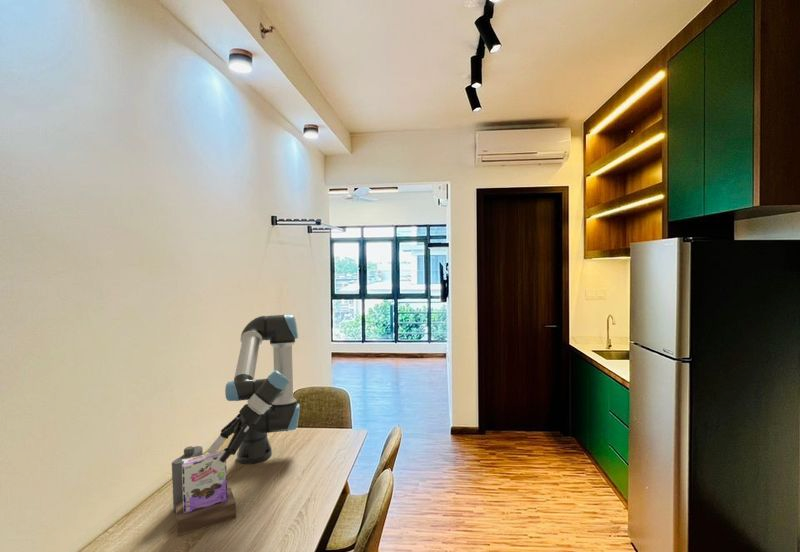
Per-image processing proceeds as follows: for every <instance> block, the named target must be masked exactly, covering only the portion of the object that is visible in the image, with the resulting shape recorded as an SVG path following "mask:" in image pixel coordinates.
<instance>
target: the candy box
mask: <svg viewBox="0 0 800 552" xmlns="http://www.w3.org/2000/svg"><path fill="white" fill-rule="evenodd" d="M223 451H224V449H222V450H220V451H218V450H217V451H216V452H214V453H206V454H203V455H201V456H197V457H192V458H188V459H182V489H183V510H184V513H188V512H192V511H195V510H198V509H202V508H205V507H209V506H212V505H215V504H219V503H222V502H226V501H227V488H228V479H227V475H228V474H227V460H226V461H225V462H224V464H223V465H222V466H221V467H220V469H219V470H218V471H216V470H214V469H212V468H211V467H210V466H211V465H212V464H213V463H214V462H215V460H216V459H217V458H218V457H219V456H220V454H221V453H222V452H223Z"/></svg>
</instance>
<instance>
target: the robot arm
mask: <svg viewBox="0 0 800 552" xmlns="http://www.w3.org/2000/svg"><path fill="white" fill-rule="evenodd" d="M298 332H299V331H298V326H297V321H296V317H295V316H294V315H292V314H278V315H277V314H276V315H275V314H274V315H261V316H258V317H255V318H254V319H252V320H250V321H249V322H248V323H247V325H245V327H244V328H243V330H242V331H241V335H240V344H241V345H240V351H239V354H238V359H237V364H236V367H235V368H236V369H235V373H234V377H233V380H231V381H227V383H226V384H225V388H224V389H225V390H224V393H225V399H226V401H228V402H242V401H247V402H246V404H244V405H243V406H242V408H241V409H240V410H239V412H238V414H237V415H236V416H235V417H234V418H233V419H232V420H231V421H229V422H228V424H226V425H225V426H224V427H223V428H222V429H221V430H220V434H219V435H218V437H217V438H216V439H215V440H214V442H213V443H212V444H211V445H210V446H209V448H207V449H206V452H207V454H210V453H214V452H218V450H219V449H220V447H221V446H222V445H223V444H224V443H225V442H226V440H228V439H229V437H230V436H232V437H231V439H230V441H229V443H228V444H227V447H224V449H223V450H224V451H223V452H222V453H221V454H220V456H219V457H218V458H217V459H216V460H215V462H214V463H213V464H212V465H211V466H210V467H211V468H212V469H214V470H216V471H218V470H219V469H220V467H221V466H222V465H223V464H224V462H225V461H226V462H227V460H228V459H229V457H230V456H231V455H232V456H235V455H236V457H237V462H238V463H240V464H256V463H261V462H263V461H265V460H267V459H268V458H270V457H271V456H272V453H273V449H272V445H271V443H270V440H269V438H268V434H269V433H270V434H271V433H277V432H278V433H279V432H281V433H282V432H288V431H295V430H296V429H297V428H298V425H299V418H300V406H301V404H300V403H297V399H296V398H295V397H294V374H293V346H294V345H295V343H296V340H297V339H298V338H299V334H298ZM264 341H269V345H270V346H271V347H272V349H273V371H272V372H271V373H270V374H269V375H268V376H267V378H259V379H255V375H256V374H255V373H256V368H257V362H258V356H259V350H260V345H261V344H262V343H263V342H264ZM236 453H237V454H236Z"/></svg>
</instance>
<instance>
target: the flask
mask: <svg viewBox="0 0 800 552" xmlns="http://www.w3.org/2000/svg"><path fill="white" fill-rule="evenodd" d="M203 449H204V448H203V447H202V446H200V445H196V446H195V445H194V446H186V447H185V448H184V449H183V454H182V455H181V456H180V457H178V458H176V459H174V460H173V461H172V462H171V479H172V480H171V481H172V501H173V502H172V505H173V506H172V507H173V511H174V512H175V513H176V503H178V502H182V501H183V489H182V459H188V458H192V457H197V456H201V455H204V453H203Z"/></svg>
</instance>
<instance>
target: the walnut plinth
mask: <svg viewBox="0 0 800 552" xmlns="http://www.w3.org/2000/svg"><path fill="white" fill-rule="evenodd" d="M175 513H176V514H175V515H176V517H175V519H176V528H177V529H176V531H177V532H176V533H177V537H180V536H183V535H186V534H188V533H192V532H196V531H199V530H202V529H204V528H208V527H210V526H214V525H217V524H220V523H223V522H226V521H229V520H232V519H236V518H237V502H236V499H235V497H234V494H233V491H232V488H231V487H229V488H228V487H227V501H226V502H222V503H219V504H215V505H212V506H209V507H205V508H202V509H198V510H195V511H192V512H188V513H184V510H183V501H182V502H178V503H176V512H175Z"/></svg>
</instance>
